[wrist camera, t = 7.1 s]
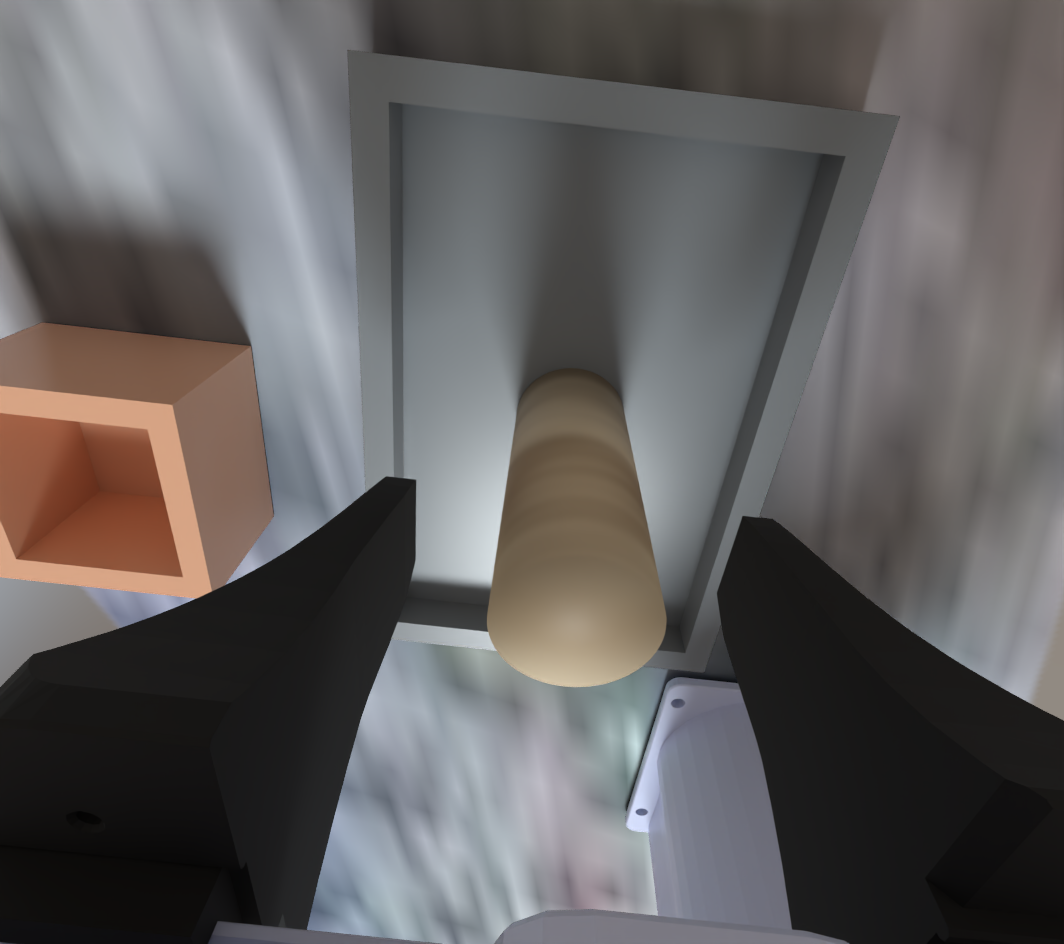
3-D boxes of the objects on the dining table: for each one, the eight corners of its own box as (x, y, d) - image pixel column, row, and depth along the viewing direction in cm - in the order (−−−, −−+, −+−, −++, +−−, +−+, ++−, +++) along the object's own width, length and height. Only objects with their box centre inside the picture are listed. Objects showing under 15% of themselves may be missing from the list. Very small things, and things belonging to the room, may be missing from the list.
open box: (273, 516, 20) (213, 600, 17) (95, 496, 20) (-2, 576, 17) (250, 346, 17) (172, 404, 14) (42, 322, 17) (-90, 375, 14)
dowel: (614, 470, 18) (646, 694, 11) (512, 459, 18) (481, 677, 11) (633, 374, 16) (684, 565, 10) (521, 362, 16) (493, 544, 10)
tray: (694, 633, 22) (704, 673, 20) (385, 599, 22) (371, 637, 20) (862, 115, 14) (900, 116, 12) (372, 56, 14) (347, 49, 12)
